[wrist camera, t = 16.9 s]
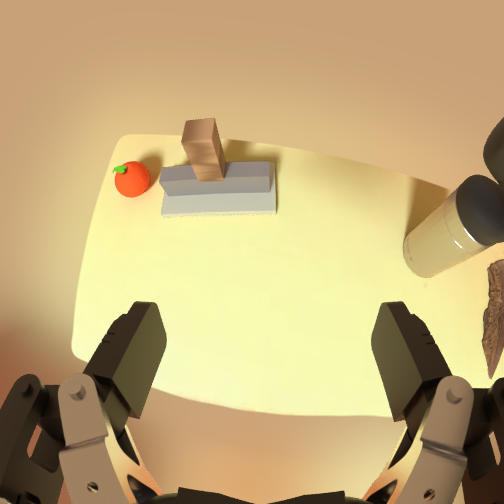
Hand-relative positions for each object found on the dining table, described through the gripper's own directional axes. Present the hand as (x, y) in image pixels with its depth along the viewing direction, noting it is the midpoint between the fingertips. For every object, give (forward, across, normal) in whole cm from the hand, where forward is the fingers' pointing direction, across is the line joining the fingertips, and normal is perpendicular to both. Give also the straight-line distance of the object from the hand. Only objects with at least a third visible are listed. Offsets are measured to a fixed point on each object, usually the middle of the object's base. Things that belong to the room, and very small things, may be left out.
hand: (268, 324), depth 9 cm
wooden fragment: (+22, -48, +24) cm, 58 cm away
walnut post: (+36, +9, +1) cm, 37 cm away
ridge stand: (+40, +9, +6) cm, 42 cm away
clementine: (+42, +26, +4) cm, 50 cm away
